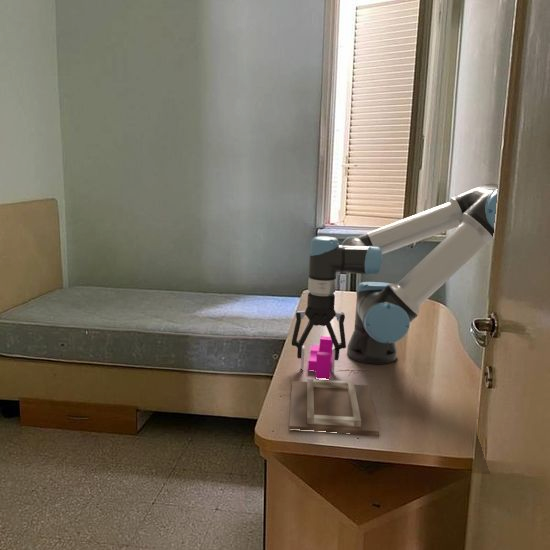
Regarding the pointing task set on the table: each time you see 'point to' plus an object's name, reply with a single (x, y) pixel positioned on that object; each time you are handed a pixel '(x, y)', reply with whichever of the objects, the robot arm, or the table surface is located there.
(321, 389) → the locating board
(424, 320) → the table surface
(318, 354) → the toy block
